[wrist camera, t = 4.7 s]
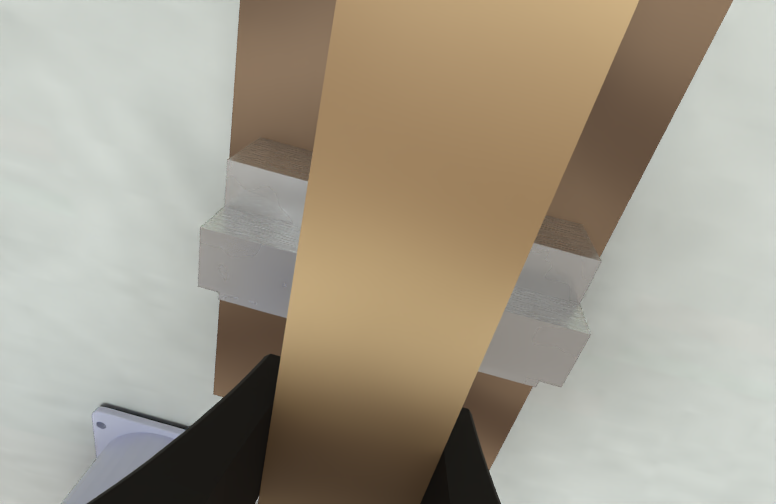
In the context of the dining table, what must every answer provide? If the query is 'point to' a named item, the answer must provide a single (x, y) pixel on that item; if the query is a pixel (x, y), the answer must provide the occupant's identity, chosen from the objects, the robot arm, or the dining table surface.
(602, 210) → the base board
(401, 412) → the oak beam
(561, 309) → the grey piece
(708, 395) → the dining table surface
